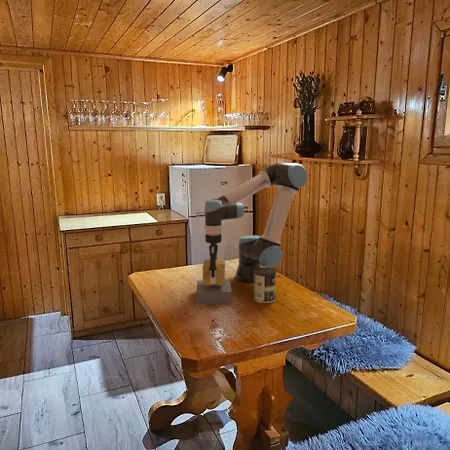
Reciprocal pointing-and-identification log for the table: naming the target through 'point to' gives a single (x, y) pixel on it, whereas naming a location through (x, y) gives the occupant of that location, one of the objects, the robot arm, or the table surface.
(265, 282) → the coffee can
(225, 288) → the charcoal block
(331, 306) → the table surface
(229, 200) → the robot arm
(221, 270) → the cheese
